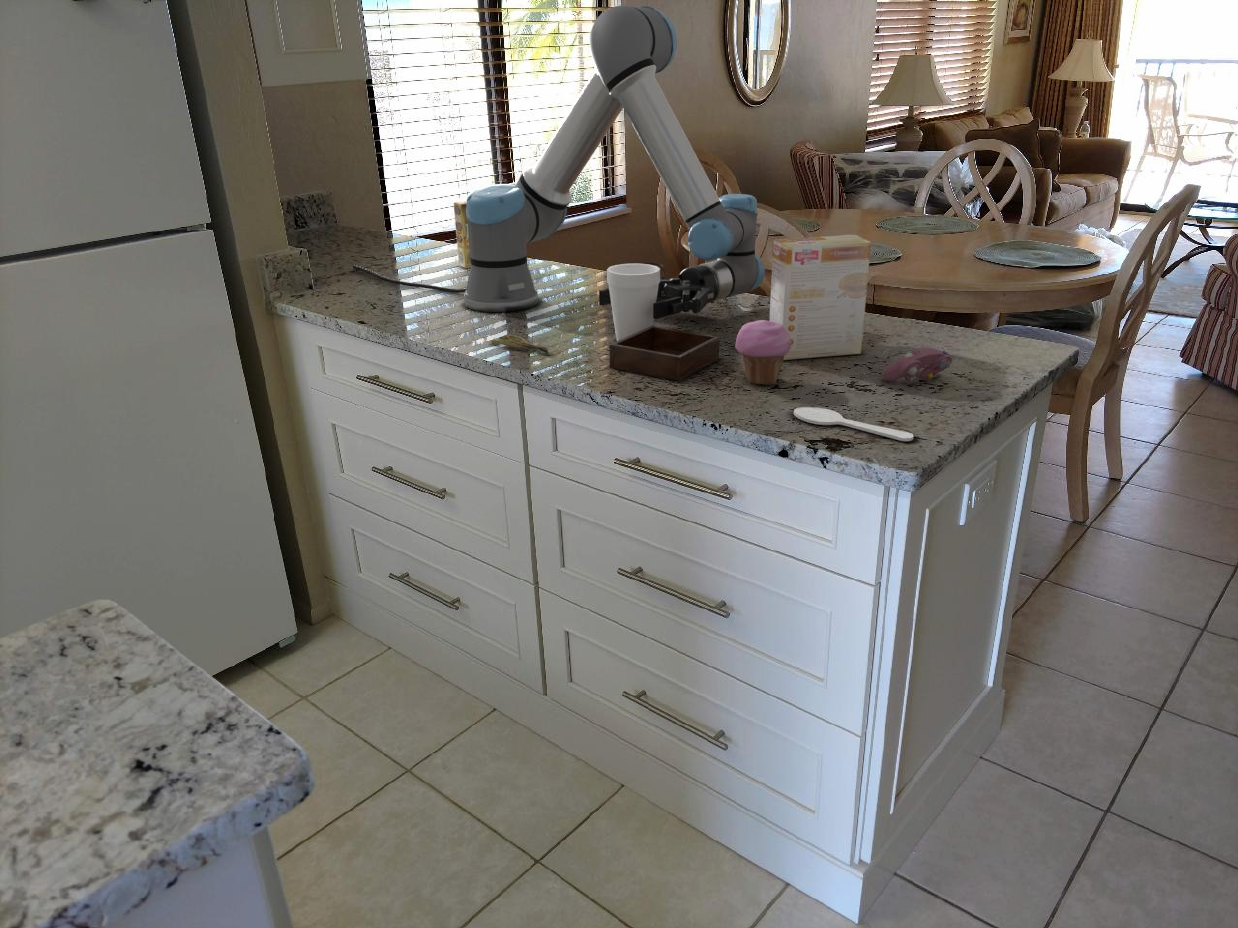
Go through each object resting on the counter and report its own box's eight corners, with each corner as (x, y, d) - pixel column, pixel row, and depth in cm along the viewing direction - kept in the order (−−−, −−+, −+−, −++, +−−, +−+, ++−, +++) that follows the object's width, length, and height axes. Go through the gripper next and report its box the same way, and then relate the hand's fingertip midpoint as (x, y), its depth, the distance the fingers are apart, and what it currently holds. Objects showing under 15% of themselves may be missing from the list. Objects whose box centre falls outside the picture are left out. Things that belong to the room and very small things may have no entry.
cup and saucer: (632, 285, 214) (632, 258, 212) (682, 291, 209) (682, 262, 207) (608, 298, 204) (608, 269, 202) (660, 303, 199) (660, 274, 197)
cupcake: (788, 391, 149) (792, 329, 145) (732, 389, 151) (734, 327, 146) (789, 373, 157) (792, 314, 153) (736, 371, 159) (738, 312, 154)
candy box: (465, 269, 232) (460, 204, 225) (458, 266, 235) (452, 202, 229) (498, 264, 236) (494, 200, 230) (489, 261, 239) (485, 198, 233)
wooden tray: (609, 367, 161) (609, 344, 160) (651, 347, 172) (651, 325, 170) (679, 381, 154) (680, 357, 153) (719, 359, 165) (720, 336, 163)
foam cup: (654, 348, 171) (654, 276, 165) (603, 346, 172) (602, 274, 167) (662, 333, 179) (663, 264, 174) (614, 331, 181) (613, 262, 176)
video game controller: (893, 396, 151) (910, 363, 146) (878, 376, 154) (895, 343, 149) (943, 387, 155) (961, 355, 150) (927, 367, 157) (945, 335, 152)
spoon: (904, 445, 129) (904, 442, 128) (786, 416, 139) (786, 413, 139) (920, 433, 132) (920, 430, 132) (803, 406, 143) (804, 403, 142)
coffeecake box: (844, 343, 172) (854, 233, 164) (862, 354, 166) (873, 241, 158) (766, 349, 170) (772, 238, 162) (780, 361, 163) (787, 246, 155)
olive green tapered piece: (543, 357, 167) (543, 345, 166) (488, 348, 174) (487, 337, 173) (558, 351, 170) (558, 340, 169) (503, 342, 177) (502, 332, 176)
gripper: (754, 314, 179) (678, 338, 165) (656, 292, 195) (580, 312, 181) (756, 274, 176) (679, 295, 162) (656, 255, 192) (578, 273, 178)
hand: (626, 304), depth 172 cm, fingers open, 13 cm apart
